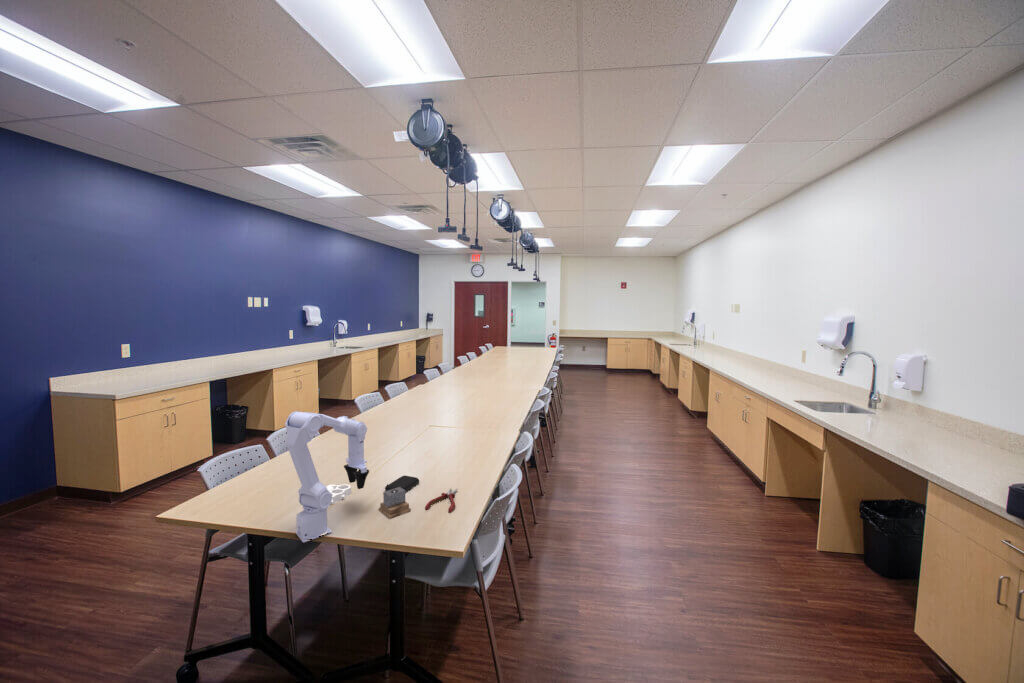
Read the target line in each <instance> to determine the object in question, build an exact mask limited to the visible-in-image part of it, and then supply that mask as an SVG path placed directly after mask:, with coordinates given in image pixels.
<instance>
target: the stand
mask: <svg viewBox="0 0 1024 683" xmlns="http://www.w3.org/2000/svg"><path fill="white" fill-rule="evenodd" d="M379 505H380V506H379V507H378V511H379V512H380V513H381V514H383V515H384V516H385V517H386V518H387V519H388V520H391V519H394V518H396V517H399V516H402V515H405V514H407V513H410V512H411V511H412V509H411V508H410V503H408V502H407V501H405V503H403V504H400V505H398V506H395V507H392V508H388V507H386V506H385V505H384V503H383V502H381V503H380V504H379Z"/></svg>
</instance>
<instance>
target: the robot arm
mask: <svg viewBox="0 0 1024 683" xmlns="http://www.w3.org/2000/svg"><path fill="white" fill-rule="evenodd" d="M324 426H327V427H331V428H333V431H334V432H336V433H340V434H343V435H346V436H347V438H348V439H347V442H348V443H347V444H348V447H347V450H348V453H347V454H348V455H347V456H348V457H347V458H345V460H346V464H345V465H343V468H344V470H345V471H346V474H347V478H348V482H349V483H350V484H353V483H356V488H357V489H358V490H361V489H364V486H365V483H366V480H367V477H368V475H369V473H370V469H368V467H367V466H366V463H368V460H367V459H365V439H366V434H367V432H368V427H367V425H366V424H365V422H363V421H358V420H356V419H354V418H349V417H348V416H345V415H342V416H339V417H337V418H335V417H332V416H330V415H326V414H322V413H316V412H306V411H303V412H301V411H299V410H298V411H297V410H296V411H293V412H291V413H290V414H289V415H288V417H287V419H286V421H285V423H284V427H285V428H286V447H287V450H288V452H289V455H290V458H291V461H292V463H293V465H294V469H295V472H296V474H297V477H298V479H299V481H300V482H299V483H300V484H301V486H300V488H299V489H297V492H298V502H299V505H301V506H302V509H303V510H302V511H300V512H298V513H297V514H296V518H295V519H296V521H295V522H296V532H295V534H296V535H297V537H298V538H299V540H301V543H307V542H309V541H313V540H315V539H318V538H320V537H319V536H321V534H323V533H325V532H326V531H327V533H329V534H331V533H330V532H332V530H331V529H330V528H329V527H328V509H329V507H330V503H331V501H332V494H331V493H330V492H329V491H328V490H327V487H326V486H327V485H325V484H324V483H322V482H321V481H320V478H319V475H318V473H317V469H316V467H315V463H314V460H313V458H312V455H311V453H310V452H311V451H310V449H309V446H308V443H309V442H311V441H312V439H313V438H314V437H315V435H316V434H317V433H318V431H319V430H320V429H321V428H323V427H324ZM332 533H333V532H332ZM321 537H322V536H321ZM307 539H312V540H307Z"/></svg>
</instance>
